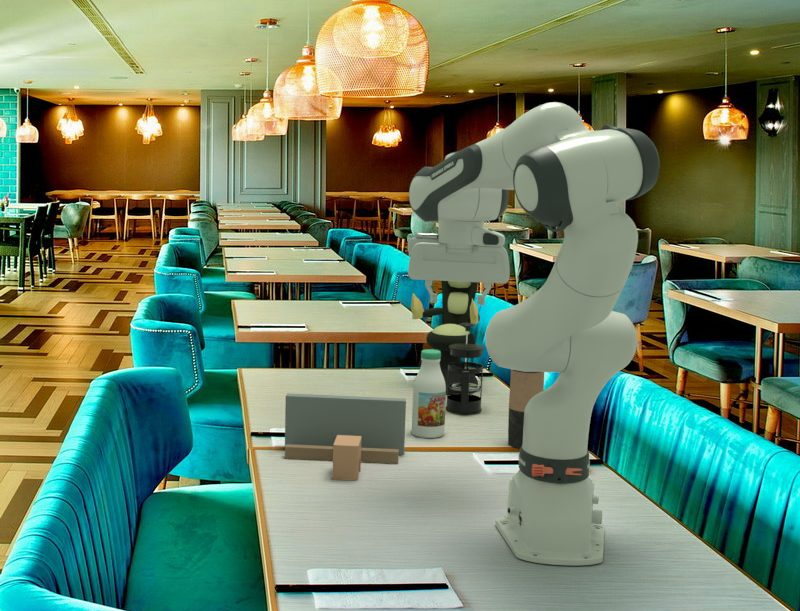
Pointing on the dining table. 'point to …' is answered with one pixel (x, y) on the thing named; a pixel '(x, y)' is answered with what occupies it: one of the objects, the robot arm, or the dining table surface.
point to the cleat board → (344, 426)
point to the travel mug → (521, 401)
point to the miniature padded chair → (451, 324)
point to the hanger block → (346, 457)
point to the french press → (465, 378)
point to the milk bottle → (429, 397)
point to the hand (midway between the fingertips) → (457, 303)
